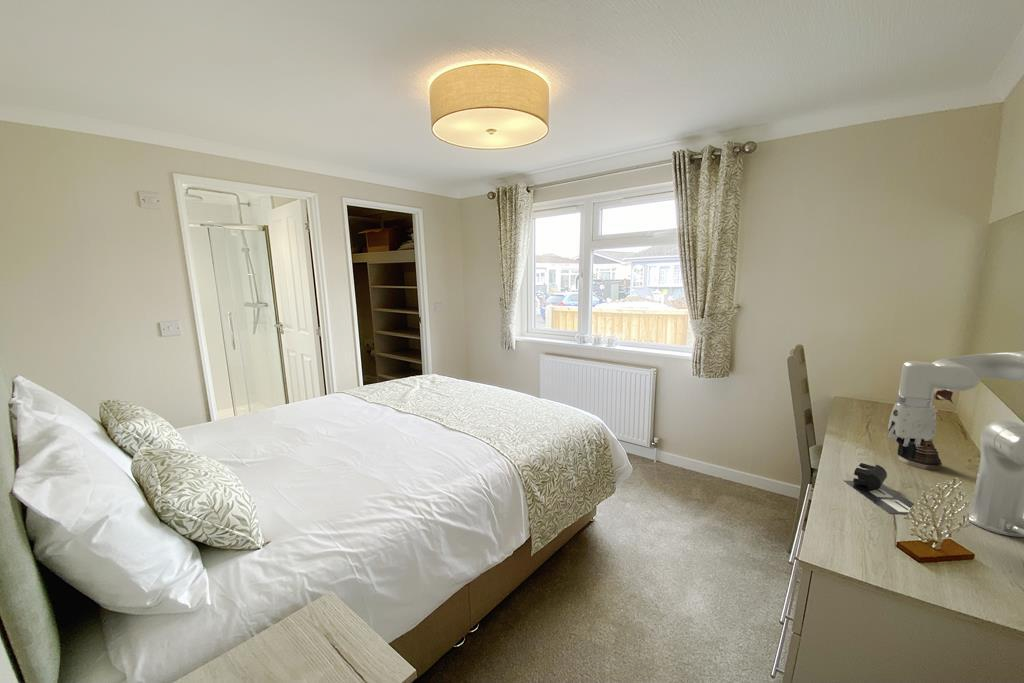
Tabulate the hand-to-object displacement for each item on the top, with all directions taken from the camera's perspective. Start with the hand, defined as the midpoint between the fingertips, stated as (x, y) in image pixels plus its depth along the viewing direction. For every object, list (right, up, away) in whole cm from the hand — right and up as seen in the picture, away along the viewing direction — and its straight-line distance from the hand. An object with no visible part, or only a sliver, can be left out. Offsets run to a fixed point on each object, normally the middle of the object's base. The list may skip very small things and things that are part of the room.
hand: (905, 456), depth 123 cm
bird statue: (+38, -11, +33) cm, 51 cm away
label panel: (+1, -16, +8) cm, 18 cm away
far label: (+1, -15, +13) cm, 20 cm away
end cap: (+2, -15, +15) cm, 21 cm away
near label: (0, -17, +3) cm, 17 cm away
